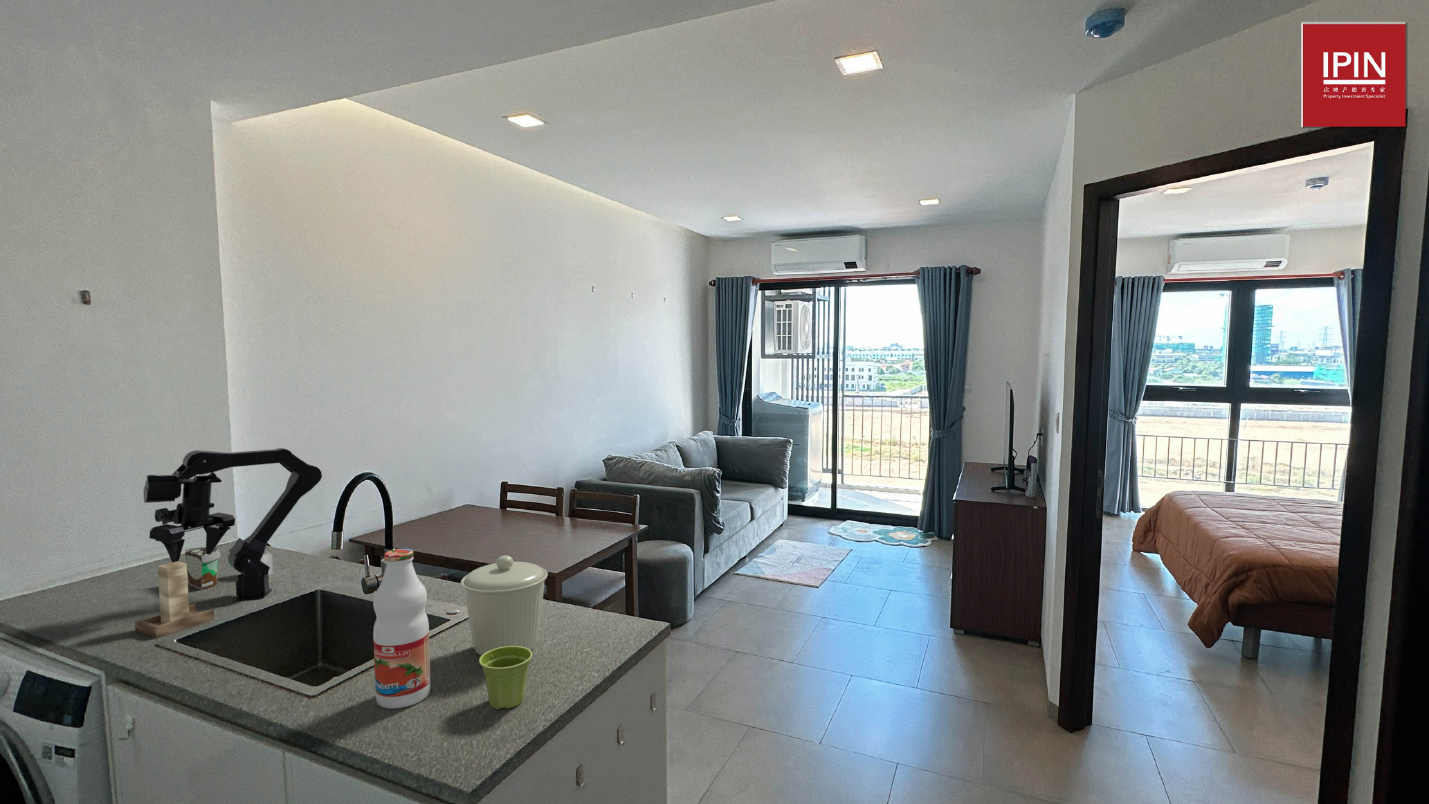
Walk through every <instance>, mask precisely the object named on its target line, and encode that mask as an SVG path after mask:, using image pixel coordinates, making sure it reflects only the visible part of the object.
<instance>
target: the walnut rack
mask: <svg viewBox="0 0 1429 804" xmlns="http://www.w3.org/2000/svg"><path fill="white" fill-rule="evenodd" d="M212 621H215V609H212V608H210V609H207V610H204V611H197V610H196V604H189V616H188V617H184V618H181V619H178V620H175V621H171V622H168V623H165V624H162V623H161V613H159V614H155V615H152V616H148V617H145V618H142V619H138V620H135V622H134V630H135V631H136V633H138V634H142V635H144V636H148V637H152V638H154V639H159V638H162V637H165V636H167V635H171V634H174V633H177V631H178V632H180V631H183V629H184V630H186V629H190V628H193V627H196V626H199V625H202V624H206V623H208V622H212Z"/></svg>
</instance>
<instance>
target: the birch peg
mask: <svg viewBox="0 0 1429 804" xmlns="http://www.w3.org/2000/svg"><path fill="white" fill-rule="evenodd" d="M157 575H158V591H159V593H158V594H159V595H158V596H159V609H160V610H159V611H160V612H159V614H161V623H162V624H165V623H168V622H171V621H175V620H178V619H181V618H184V617H188V616H189V605H190V603H189V602H190V601H189V599H190V598H189V584H188V575H187V563H186V562H181V561H177V562H173V563H172V562H170V563H165V564H161V565H158V566H157Z"/></svg>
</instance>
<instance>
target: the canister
mask: <svg viewBox="0 0 1429 804" xmlns="http://www.w3.org/2000/svg"><path fill="white" fill-rule="evenodd" d="M547 578H548V571H547V570H546V569H545V568H543V567H541V566H540V565H537V564H534V563H532V562H525V561H514V559H513V557H512V556H510V555H501V556H499V557H498V558H497V559H496V561H495V563H490V564H485V565H484V566H480V567H477V568H476V569H473V570H472V571H471V572H469V573H468V574H466V575H464V577H463V578H462V579H461V580H460V585H461V587H462V588H463V589H464V594H465V595H464V597H465V603H466V608H467V616H468V622H469V623H468V624H469V630H470V634H471V641H472V645H473V647H474V650H475V652H476V653H477V654H478V655H479V656H480V657H481V656H482V655H483V654H484V653H486V652H488V651H490V650H492V649H496V648H499V647H505V646H521V647H525V648H528V649H530V650H531V651H532V650H533V649H534V648H535V647H536V645H537V643H538V641H539V640H538V639H539V637H540V632H541V631H540V630H541V622H542V614H543V613H542V612H543V600H544V591H545V581H546V580H547Z"/></svg>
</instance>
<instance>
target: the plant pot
mask: <svg viewBox="0 0 1429 804" xmlns="http://www.w3.org/2000/svg"><path fill="white" fill-rule="evenodd" d="M532 658H533V651H532V650H530V649H528V648H525V647H521V646H505V647H499V648H496V649H492V650H490V651H488V652H486V653H484V654H483V655H482V656H480V657H479V660H478V661H479V662H478V663H479V665H480V666H481V667H482V671H483V673H484V678H485V682H486V684H485V685H486V689H487V696H488V702H489V705H490V707H492V708H493V709H496V710H501V709H503V708H505V709H512V708H514V707H515V708H516V707H517V706H519V705H520V704H521V703H523V700H524V698H525V691H526V682H527V676H528V670H529V669H528V667H529V666H530V664H531V663H530V661H531V659H532Z"/></svg>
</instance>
